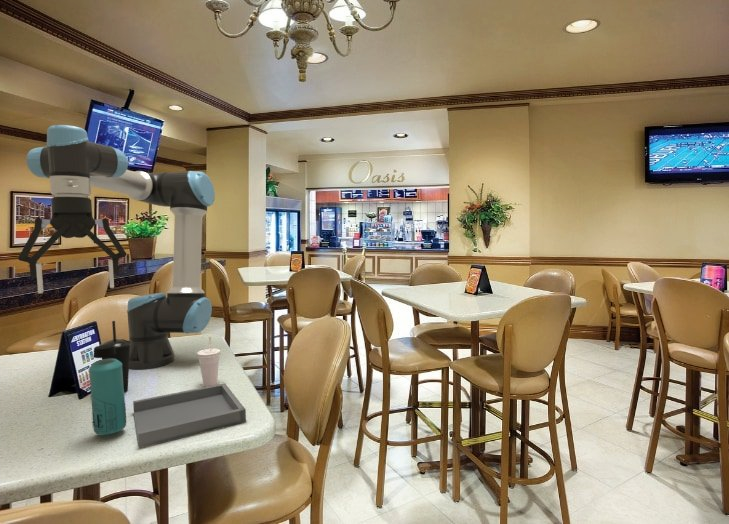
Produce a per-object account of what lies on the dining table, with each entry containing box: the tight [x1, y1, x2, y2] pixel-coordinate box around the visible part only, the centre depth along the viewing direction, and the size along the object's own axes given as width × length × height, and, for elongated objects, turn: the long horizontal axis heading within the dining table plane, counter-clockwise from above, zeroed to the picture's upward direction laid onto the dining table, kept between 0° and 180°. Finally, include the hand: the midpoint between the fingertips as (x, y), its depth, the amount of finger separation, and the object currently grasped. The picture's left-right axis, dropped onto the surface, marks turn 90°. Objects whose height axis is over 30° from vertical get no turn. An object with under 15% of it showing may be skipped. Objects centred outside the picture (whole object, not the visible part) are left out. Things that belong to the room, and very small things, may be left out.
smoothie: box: [196, 336, 221, 387], centre depth 123 cm, size 6×6×14 cm
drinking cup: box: [98, 320, 131, 394], centre depth 118 cm, size 8×8×20 cm
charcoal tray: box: [132, 382, 247, 449], centre depth 102 cm, size 20×22×3 cm
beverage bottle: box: [88, 344, 128, 436], centre depth 93 cm, size 6×7×20 cm
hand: (77, 290), depth 98 cm, fingers open, 13 cm apart
